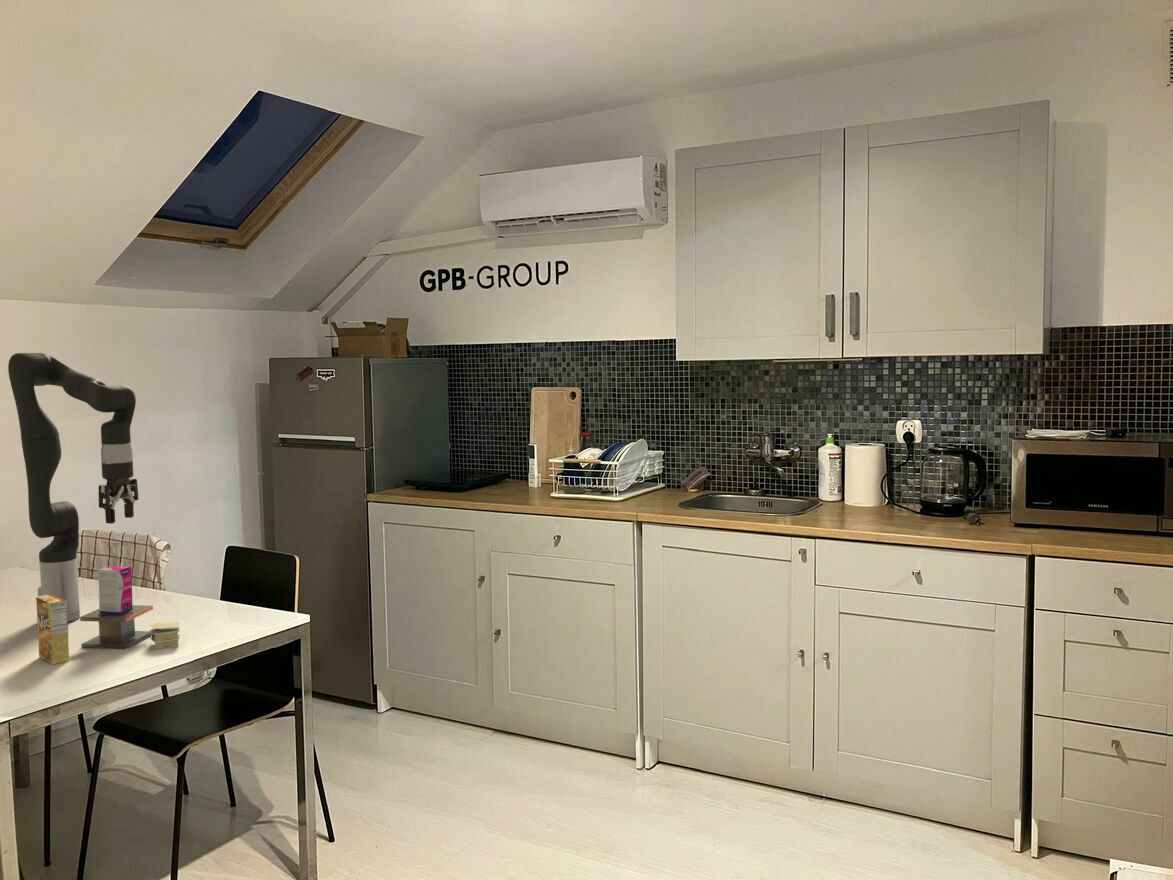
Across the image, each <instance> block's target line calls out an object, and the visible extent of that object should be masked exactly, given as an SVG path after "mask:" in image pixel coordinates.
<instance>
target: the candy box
mask: <svg viewBox="0 0 1173 880" xmlns="http://www.w3.org/2000/svg"><path fill="white" fill-rule="evenodd" d="M35 600H36V620H37V640H38V641H37V642H38V645H37V646H38V658H40V659H41V660H44V661H46V662H47V663H49V664H51V665H52V666H54V665H58V664H62V663H65V662H69V661H70V650H69V624H68V623H69V622H68V618H67V600H65V599H62V598H60V597H57V596H55V595H53V594H52V595H45V596H39V597H38V596H36V597H35Z"/></svg>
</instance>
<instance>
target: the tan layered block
mask: <svg viewBox="0 0 1173 880" xmlns="http://www.w3.org/2000/svg"><path fill="white" fill-rule="evenodd" d="M149 626H150V627H151V629H149V631H150V632H152V636H150V637H149V638H150V640H151V641H152V642H153V643H154V648H155V647H156V648H155V649H163V648H167V647H166V646H168V647H175V645H177V646H179V640H180V637H181V636H180V635H181V634H179V632H180V621H165V622H164V621H163V622H162V621H161V622H160V621H159V622H153V623H151V624H149Z"/></svg>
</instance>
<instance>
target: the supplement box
mask: <svg viewBox="0 0 1173 880" xmlns="http://www.w3.org/2000/svg"><path fill="white" fill-rule="evenodd" d="M132 568H133V567H132V566H127V565H115V564H114V565H110V566H107V567H103V568H100V569H98V571H97V572H98V599H99V600H98V603H99V605H98V606H99V607H98V609H99V611H100V612H99V613H103V614H120V613H122V612H124V611H127V610H130V609H132V608H133V607H132V605H133V578H132V576H133V574H132Z"/></svg>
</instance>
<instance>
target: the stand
mask: <svg viewBox="0 0 1173 880" xmlns="http://www.w3.org/2000/svg"><path fill="white" fill-rule="evenodd" d="M132 607H133V608H132V609H130V610H127V611H124V612H122V613H120V614H103V613H99V612H100V611H99V608H98V609H95V610H93V611H91V612H89V613H86V614H84V615H82V616H81V615H80V617H79V621H80V622H98V634H99V635H97V636H95V637H92V638H91V639H89V640H86V641H85V642H82V643H81V644H80V645H81V649H106V650H107V649H111V650H127V649H130V648H131V647H133V646H135V645H136V644H138V643H140V642H142V641H144V640H146V639H148V638H150V637H152V632H150V630H149V631H146V630H136V625H135V622H136V621H135V618H138V617H140V616H142V615H144V614H146V613H148V612H150V611H152V610H154V606H153V605H143V604H141V605H139V604H138V605H135V604H132Z"/></svg>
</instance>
